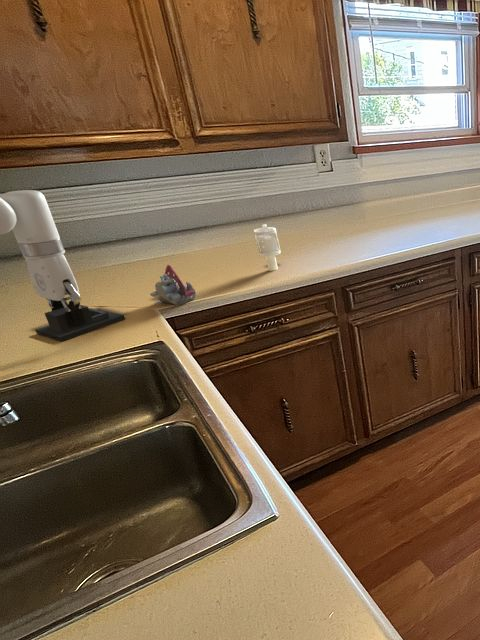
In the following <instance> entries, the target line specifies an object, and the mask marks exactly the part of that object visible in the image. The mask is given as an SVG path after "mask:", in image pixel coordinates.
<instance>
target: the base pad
mask: <svg viewBox="0 0 480 640" xmlns="http://www.w3.org/2000/svg"><path fill="white" fill-rule="evenodd" d="M88 308H89V311H90V313H91V316H92V319H93V323H90V324H86V325H83V326H80V327H77V328H74V329H71V330H68V331H65V332H60V331H56V330H53V329H51V328H50V326H49V324H48V325H45V326H41V327H39V328H36V329H34V330H35V333H36V334H37V335H39V336H43V337H46V338H49V339H52V340H56V341H59V342H65V341H67V340H71V339H73V338H76V337H79V336H82V335H85V334H87V333H90V332H93V331H95V330H99V329H102V328H104V327H107V326H110V325H112V324H116V323H119V322H121V321H124V320H126V316H125V314H122V313H118V312H113V311H110V310H106V309H101V308H96V309H95V308H91V307H88Z"/></svg>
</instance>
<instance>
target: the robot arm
mask: <svg viewBox="0 0 480 640" xmlns="http://www.w3.org/2000/svg"><path fill="white" fill-rule="evenodd" d="M11 231H12V233H13V235H14V237H15V240H16V242H17V244H18V247H19V249H20V252H21V254H22V257H23V259H25V264H26V267H27V272H28V275H29V277H30V280H31V283H32V285H33V288H34V291H35V294H36V295H37V296H38V297H41V298H42V299H45V300H47V303H48V306H49V307H50V309H51V311H53V310H57V309H60V308H65V309H66V312H65V314H66V317H67V319H68V322H69V325H70V327H72V328H74V327H77V326H81V325H84V324H86V321H85V318H84V316H83V313H82V310H81V306H80V305H81V300H82V297H81V295H80V289H79V286H78V285H79V284H78V283H77V280H76V277H75V275H74V273H73V271H72V269H71V267H70V264H69V262H68V260H67V259H66V256H65V253H66V250H65V247H64V244H63V242H62V240H61V237H60V234H59V231H58V229H57V226H56V223H55V220H54V217H53V214H52V212H51V209H50V207H49V204H48V201H47V199H46V197H45V195H44V194H43V193H42V192H41V191H39V190H34V189H23V190H12V191H7V192H4V193H0V236H3V235H5V234H9V233H10V232H11ZM67 295H68V296H67ZM65 296H67V297H65ZM67 301H68V302H67Z"/></svg>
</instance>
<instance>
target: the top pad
mask: <svg viewBox="0 0 480 640" xmlns="http://www.w3.org/2000/svg"><path fill="white" fill-rule="evenodd" d="M80 306H81V310H82V313H83V316H84V318H85V321H86V324H90V323H93V319H92V316H91V313H90V311H89V308H90V307H89V306H86V305H83V304H80ZM65 312H66V309H65V308H60V309H57V310H53V311H52V310H51V311H47V312H44V313H43V314H44V316H45V319H46V320H47V323H48V325H49V326H50V328H51V329H53V330H56V331H60V332H65V331H68V330H71V329H74V328H77V327H80V326H77V327H74V328H72V327H70V325H69V322H68V319H67V317H66V314H65ZM86 324H84V325H86ZM81 326H83V325H81Z"/></svg>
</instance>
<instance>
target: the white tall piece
mask: <svg viewBox="0 0 480 640" xmlns="http://www.w3.org/2000/svg"><path fill="white" fill-rule="evenodd" d="M267 226H268V225H267V224H266V223H264V224H262V225H261V227H259V228H255V229H253V234H254V239H255V243H256V247H257V252H258V256H259V257H262V258H265V259H266V264H267V268H268V271H270V272H274V271H278V270H279V267H278V262H277V258H276V256H278V255H280V254H281V253H282V252H281V247H280V242H279V237H278V233H277V228H276V227H272V226H268V227H267Z"/></svg>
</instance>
